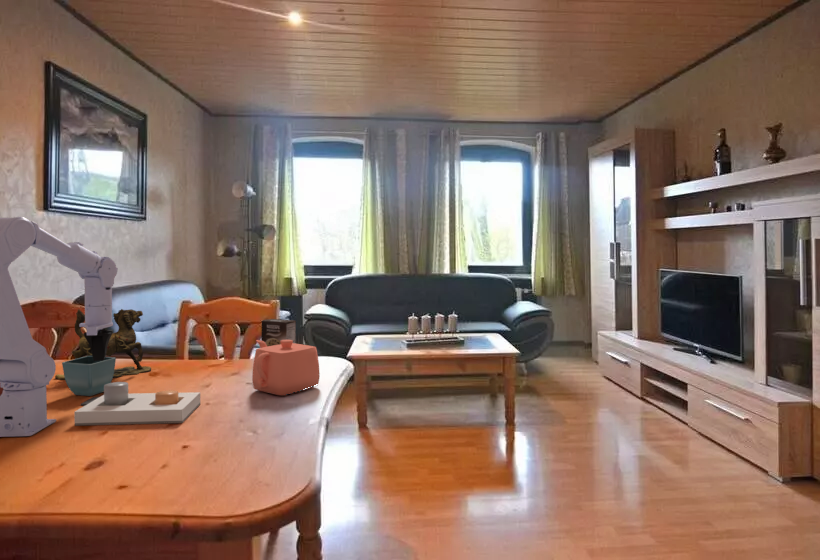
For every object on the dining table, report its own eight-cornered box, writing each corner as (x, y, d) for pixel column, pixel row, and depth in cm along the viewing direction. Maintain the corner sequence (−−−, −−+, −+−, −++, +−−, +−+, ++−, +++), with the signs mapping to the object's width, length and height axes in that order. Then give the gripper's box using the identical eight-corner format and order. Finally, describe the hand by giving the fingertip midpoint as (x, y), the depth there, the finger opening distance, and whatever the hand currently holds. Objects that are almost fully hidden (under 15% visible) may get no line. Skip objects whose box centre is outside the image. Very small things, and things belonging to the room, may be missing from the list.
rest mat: (107, 405, 124) (107, 403, 124) (80, 405, 123) (80, 403, 123) (118, 398, 130) (118, 396, 130) (92, 398, 129) (92, 397, 129)
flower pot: (90, 399, 129) (90, 364, 128) (61, 396, 130) (60, 362, 130) (117, 390, 137) (116, 357, 137) (89, 388, 139) (88, 355, 139)
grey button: (123, 404, 115) (122, 387, 114) (100, 405, 114) (99, 387, 114) (131, 398, 119) (131, 381, 119) (110, 399, 119) (109, 382, 119)
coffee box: (260, 371, 163) (260, 320, 162) (271, 366, 169) (271, 318, 168) (285, 373, 160) (285, 322, 159) (296, 369, 166) (296, 319, 165)
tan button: (174, 413, 116) (174, 395, 116) (152, 413, 116) (152, 396, 115) (181, 407, 121) (181, 390, 121) (159, 407, 120) (159, 390, 120)
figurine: (151, 375, 155) (151, 308, 154) (52, 383, 143) (50, 311, 142) (150, 366, 166) (150, 304, 165) (58, 374, 155) (57, 307, 154)
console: (182, 423, 112) (182, 409, 112) (74, 425, 109) (74, 411, 109) (200, 404, 126) (200, 392, 126) (105, 406, 123) (105, 393, 123)
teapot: (283, 376, 156) (283, 331, 156) (329, 386, 145) (329, 338, 145) (226, 389, 140) (226, 339, 139) (273, 402, 129) (273, 348, 128)
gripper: (87, 302, 131) (88, 355, 132) (71, 308, 117) (72, 367, 118) (118, 302, 133) (119, 354, 134) (106, 308, 120) (106, 365, 120)
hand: (99, 360), depth 126 cm, fingers closed
